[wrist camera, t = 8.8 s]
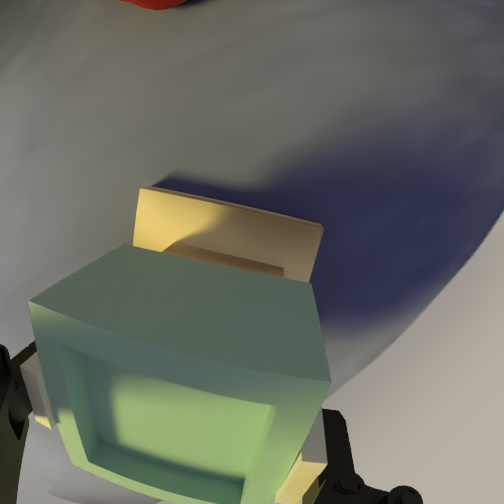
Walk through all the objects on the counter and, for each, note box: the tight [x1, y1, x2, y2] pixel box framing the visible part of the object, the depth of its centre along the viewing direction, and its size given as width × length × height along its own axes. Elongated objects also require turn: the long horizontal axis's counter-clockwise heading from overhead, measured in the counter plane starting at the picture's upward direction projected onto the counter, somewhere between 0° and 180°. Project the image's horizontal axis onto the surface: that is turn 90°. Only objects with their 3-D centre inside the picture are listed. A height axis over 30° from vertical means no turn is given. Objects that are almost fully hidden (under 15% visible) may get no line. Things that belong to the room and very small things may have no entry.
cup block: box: [29, 244, 331, 504], centre depth 11 cm, size 8×8×6 cm
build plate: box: [133, 186, 324, 283], centre depth 16 cm, size 10×10×6 cm
